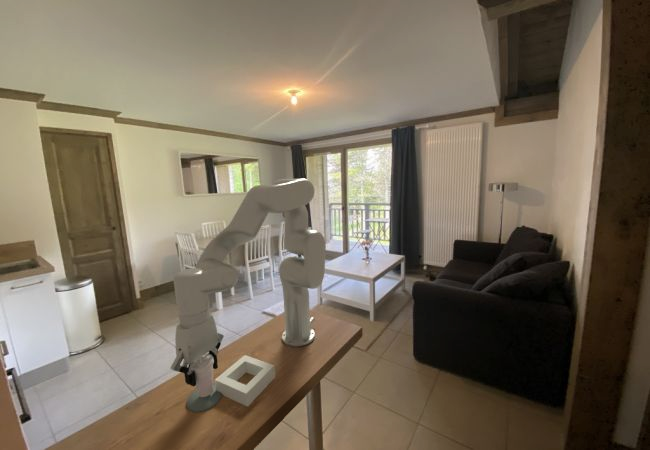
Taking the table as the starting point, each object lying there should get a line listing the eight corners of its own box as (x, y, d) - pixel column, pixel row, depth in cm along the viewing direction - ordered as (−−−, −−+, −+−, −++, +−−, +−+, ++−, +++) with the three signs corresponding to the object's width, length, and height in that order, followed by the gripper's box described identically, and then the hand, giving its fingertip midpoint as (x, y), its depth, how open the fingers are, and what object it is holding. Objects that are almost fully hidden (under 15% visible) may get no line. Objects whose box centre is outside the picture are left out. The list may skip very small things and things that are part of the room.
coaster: (207, 382, 81) (207, 380, 81) (228, 392, 77) (228, 390, 77) (179, 404, 73) (179, 402, 73) (202, 417, 69) (201, 415, 69)
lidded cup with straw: (191, 404, 71) (182, 357, 68) (195, 386, 77) (188, 343, 74) (216, 397, 73) (209, 352, 70) (219, 380, 79) (212, 338, 76)
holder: (245, 365, 88) (244, 354, 87) (275, 377, 82) (274, 365, 81) (216, 391, 77) (214, 379, 76) (247, 406, 72) (246, 393, 71)
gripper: (212, 299, 80) (218, 353, 83) (153, 328, 65) (163, 393, 68) (230, 304, 77) (236, 360, 80) (172, 336, 61) (182, 403, 65)
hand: (202, 374), depth 74 cm, fingers closed on lidded cup with straw, 6 cm apart
